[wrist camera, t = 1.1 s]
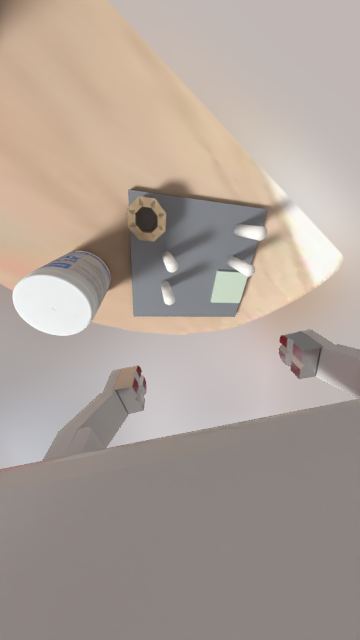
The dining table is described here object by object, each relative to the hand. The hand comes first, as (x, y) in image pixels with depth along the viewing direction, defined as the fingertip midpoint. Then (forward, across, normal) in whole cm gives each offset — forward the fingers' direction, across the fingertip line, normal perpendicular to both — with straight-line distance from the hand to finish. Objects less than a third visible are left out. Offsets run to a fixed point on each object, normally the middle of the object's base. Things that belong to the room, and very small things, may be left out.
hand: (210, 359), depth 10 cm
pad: (+31, -11, +7) cm, 34 cm away
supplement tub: (+29, +19, -3) cm, 35 cm away
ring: (+28, +4, -10) cm, 30 cm away
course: (+31, -3, 0) cm, 31 cm away
